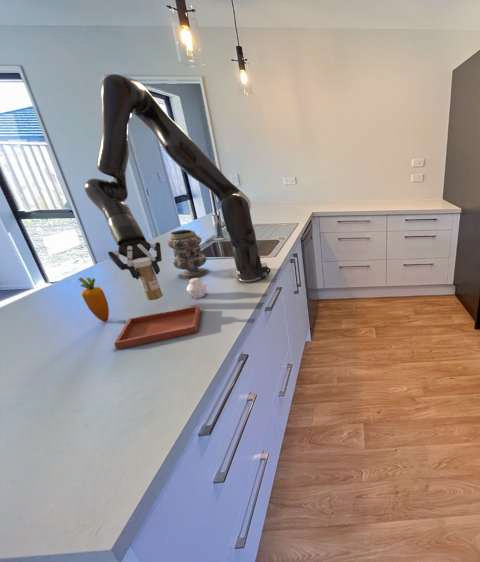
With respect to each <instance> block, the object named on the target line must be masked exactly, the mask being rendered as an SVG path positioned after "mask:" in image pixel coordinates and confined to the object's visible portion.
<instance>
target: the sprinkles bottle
mask: <svg viewBox="0 0 480 562" xmlns="http://www.w3.org/2000/svg"><path fill="white" fill-rule="evenodd" d="M132 263H133V266H134V267H135V269H136V271H137V274H138V276H139V279H138V280H139V282H140V284H141V287H142V290H143V292H144V294H145V296H146V300H147V301H156V300H158V299H161V298H163V296H164V294H163V292H162V290H161V286H160V283H159V281H158V278H157V274H156V273H155V271H154V269H153V267H152V263H151V260H150V258H138V259H136V260H133V262H132Z"/></svg>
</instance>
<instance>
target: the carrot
mask: <svg viewBox="0 0 480 562" xmlns="http://www.w3.org/2000/svg"><path fill="white" fill-rule="evenodd" d="M77 280H78V281H80V282H81V283H82V284H80V285H79V286H80V287H81V288H82V287H83V288H85V289H83V290H81V293H80V294H81V297H82V298H83V300H84V302H85V304H86V306H87V307H88V309H89V311H90V312H91V313H92V315H93V316H95V318H97V319H98V320H100V321H101V322H103V323H106V322H107V321H108V320H109V315H110V309H109V303H108V300H107V298H106V294H105V293H104V290H103V289H102V288H101V287H100V286H95V282H96V278H95V277H92V279H91V278H90V277H86V279H84V278H83V277H78V279H77Z"/></svg>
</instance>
